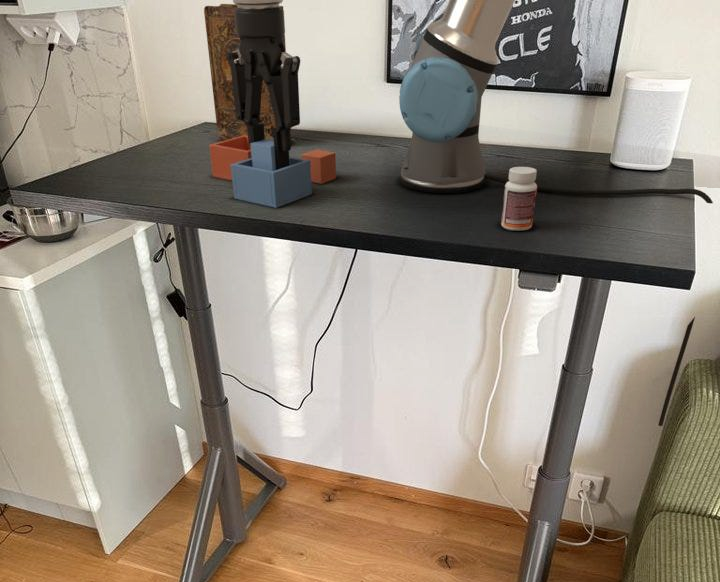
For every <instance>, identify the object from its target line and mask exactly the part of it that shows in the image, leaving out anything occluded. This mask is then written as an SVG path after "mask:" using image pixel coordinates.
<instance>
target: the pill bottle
mask: <svg viewBox="0 0 720 582" xmlns="http://www.w3.org/2000/svg"><path fill="white" fill-rule="evenodd" d="M537 172H538V171H537V168H534V167H530V166H514V167H511V168H510V169H509V170H508V179H509V180H510V181H508V182H507V183H506V184H504V193H503V201H502V212H501V220H500V221H501V222H500V224H501V225H500V226H501V227H502V228H503V229H505V230H507V231H514V232H517V231H518V232H522V231H528V230H530V229H532V226H533V221H534V214H535V207H536V199H537V192H538V190H537V185H538V184H537V183H536V182H535V181H536V179H537Z"/></svg>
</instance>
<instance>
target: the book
mask: <svg viewBox="0 0 720 582" xmlns="http://www.w3.org/2000/svg"><path fill="white" fill-rule="evenodd" d="M279 7H281V8H282V10H284V6H283V5H279ZM236 8H238V6H237V4H235V3H221V4H219V5H205V6H204V8H203V13H204V23H205V32H206V40H207V49H208V58H209V68H210V75H211V76H210V78H211V86H212V95H213V96H212V97H213V104H214V105H213V106H214V115H215V122H216V132H217V136H218V138H219V139H220V140H221V141H225V140H229V139H232V138H236V137H240V136H243V135H247V136H248V133H247V125H246V124H245V122H243V121H242V120H238V119H237V118H236V112H235V103H234V94H233V85H232V76H231V68H230V66H229V63H228V60H227V53H228V52H233V51H236V50H238V49H239V45H240V37H239V36H238V35H237V34H236V26H235V15H234V11H235V9H236ZM283 44H284V47H285V49H287V45H286V33H285V34H284V36H283ZM245 64H246V63H245ZM281 65H282V64H281ZM282 71H283V69H282ZM271 77H275V76H271ZM260 119H261V120H262V122H261V123H258V124H264V135H265V139H267V138H270V139H274V138H273V130H274V128H276V122H275V118H274V113H273V109H272V105H271V100H270V96H269V91H268V87H267V85H266V84H265V83H264V80H263V81H262V94H261V107H260ZM290 136H291V137H292V131H291V129H290Z"/></svg>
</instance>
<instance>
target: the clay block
mask: <svg viewBox="0 0 720 582" xmlns="http://www.w3.org/2000/svg"><path fill="white" fill-rule="evenodd" d="M300 159H305V160H310V165H311V183H315V184H319V185H323V184H325V183H327V182H331V181H333V180H336V179H337V161H336V152H333V151H328V150H321V149H314V150H309V151H307V152H304V153H301V154H300Z"/></svg>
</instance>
